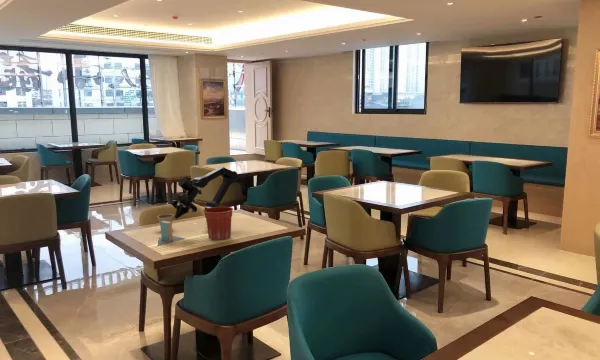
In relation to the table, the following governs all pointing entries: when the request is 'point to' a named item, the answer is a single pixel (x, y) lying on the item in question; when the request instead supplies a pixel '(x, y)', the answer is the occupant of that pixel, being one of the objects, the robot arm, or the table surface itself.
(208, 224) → the flower pot
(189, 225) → the table surface
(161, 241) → the mat
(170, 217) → the flower pot
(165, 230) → the salmon rectangular block
